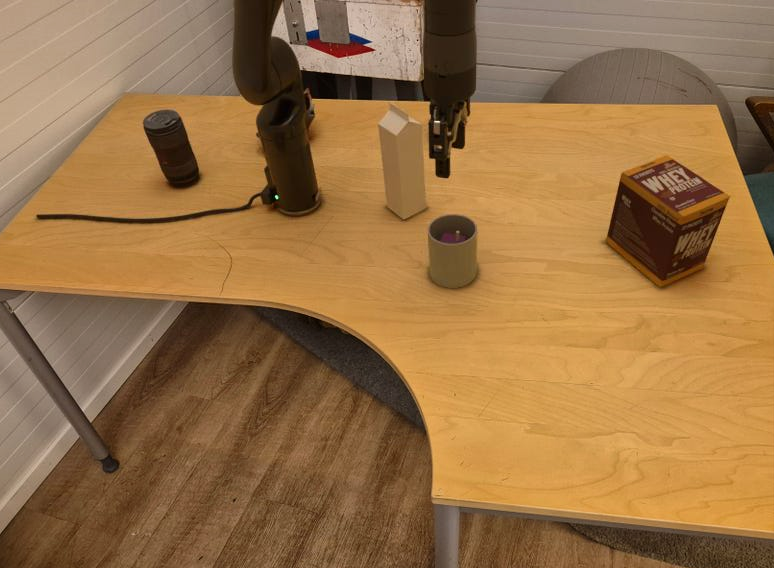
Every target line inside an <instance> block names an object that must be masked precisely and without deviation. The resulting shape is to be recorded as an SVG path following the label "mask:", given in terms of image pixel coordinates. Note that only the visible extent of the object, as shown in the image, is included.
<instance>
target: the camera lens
mask: <svg viewBox="0 0 774 568" xmlns="http://www.w3.org/2000/svg"><path fill="white" fill-rule="evenodd" d="M142 125H143V130H144V133H145V135H146V138H147V140H148V143H149V144H150V146H151V148H152V150H153V152H154V155H155V158H156V159H157V162H158V165H159V168H160V170H161V172H162V174H163V175H164V177H165V179H166V180H167V181H168V183H169V184H170V186H172V187H173V188H177V189H180V188H181V189H182V188H183V189H184V188H188V187H191V186H193V185H195V184H196V183H198V181H199V180H200V174H199V172H200V168H199V165H198V160H197V158H196V157H197V156H196V155H195V152H194V150H193V148H192V144H191V143H190V140H189V136H188V131H187V128H186V127H185V123H184V121H183V118H182V117H181V116H180V114H179V112H178V111H177V110H174V109H159V110H156V111H153V112H150V113H149V114H147V115H146V116H145V117H144V118H143V120H142Z"/></svg>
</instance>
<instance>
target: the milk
mask: <svg viewBox="0 0 774 568" xmlns="http://www.w3.org/2000/svg"><path fill="white" fill-rule="evenodd" d="M377 126H378V134H379V135H378V137H379V145H380V154H381V163H382V172H383V181H384V192H385V201H386V207H387V208H388V210H390V211H391V212H393V213H394V214H395V215H397V216H398V217H399V218H401V219H402V220H403V221H404V220H406V219H408V218H410V217H412V216H414V215H416V214H418V213H420V212H422V211H424V210H426V209H427V199H426V179H425V178H426V177H425V159H424V157H425V156H424V139H423V124H422V123H421V122H419V121H417V120H416V119H414V118H412V117H411V116H409V113H408V112H407V111H405V110H403V109H402V108H401V107H399V106H397V105H396V104H394V103H392V102H389V110H388V111H387V112H386V113H385V115H384V116H383V117H382V118H381V119H380V120H379V122H378V124H377Z"/></svg>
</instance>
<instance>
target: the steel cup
mask: <svg viewBox="0 0 774 568" xmlns="http://www.w3.org/2000/svg"><path fill="white" fill-rule="evenodd" d="M456 231H459V232H460V235H461V236H466V241H464V242H461V243H457V244H447V243H442V242H440V240H441V238H442V236H443V234H444V233H449V234H455V235H456ZM427 246H428V247H427V248H428V261H429V262H428V264H429V265H428V266H429V267H428V268H429V276H430V278H431V280H432V281H433V282H434V283H435V284H436V285H438V286H440V287H443V288H446V289H447V288H449V289H458V288H462V287H465V286H467V285H469V284H470V283H471V282H473V281H474V279H475V278H476V275H477V267H478V265H477V264H478V225H477V223H476V222H475V220H473V219H472V218H470V217H468V216H466V215H463V214H458V213H449V214H443V215H440V216H438V217H436V218H434V219H433V220H432V221H430V223H429V224H428V226H427Z"/></svg>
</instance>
